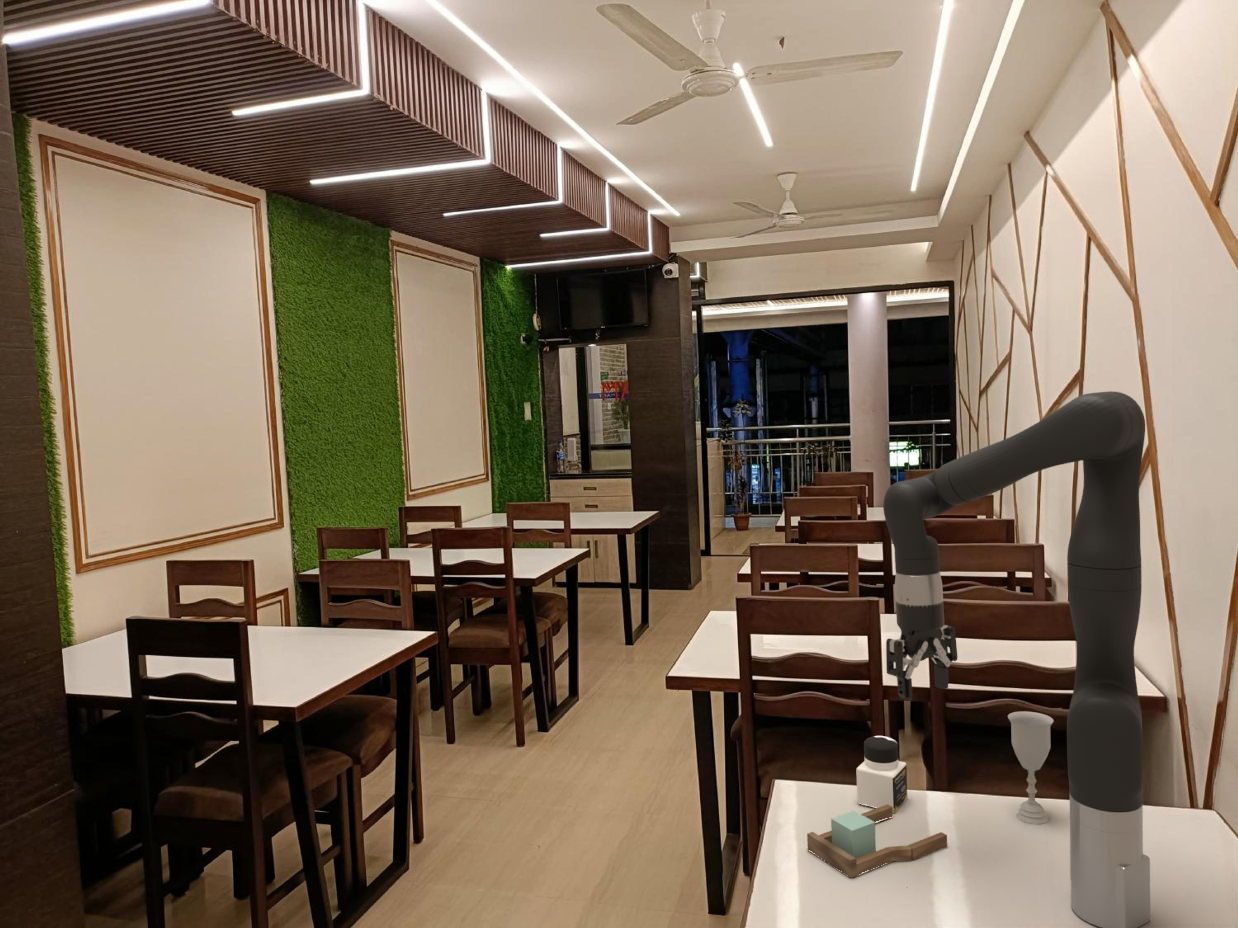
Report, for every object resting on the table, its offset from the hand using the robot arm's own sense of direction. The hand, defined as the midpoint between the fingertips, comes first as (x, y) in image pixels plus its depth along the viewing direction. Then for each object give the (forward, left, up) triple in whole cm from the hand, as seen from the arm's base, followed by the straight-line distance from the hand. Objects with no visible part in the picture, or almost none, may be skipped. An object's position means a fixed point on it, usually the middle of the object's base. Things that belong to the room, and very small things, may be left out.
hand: (924, 693), depth 148 cm
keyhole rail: (+4, +8, -26) cm, 28 cm away
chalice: (-4, -22, -26) cm, 34 cm away
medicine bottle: (+15, -5, -26) cm, 31 cm away
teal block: (+4, +13, -26) cm, 29 cm away
